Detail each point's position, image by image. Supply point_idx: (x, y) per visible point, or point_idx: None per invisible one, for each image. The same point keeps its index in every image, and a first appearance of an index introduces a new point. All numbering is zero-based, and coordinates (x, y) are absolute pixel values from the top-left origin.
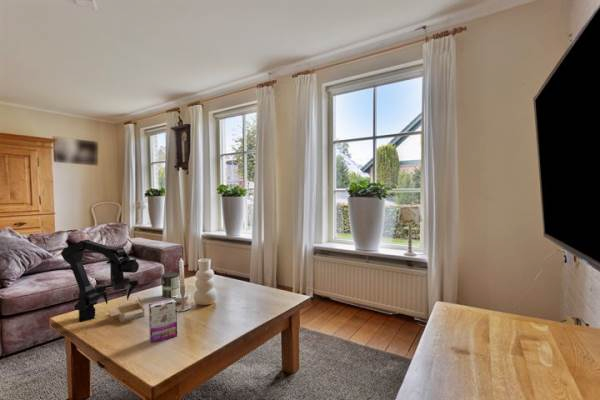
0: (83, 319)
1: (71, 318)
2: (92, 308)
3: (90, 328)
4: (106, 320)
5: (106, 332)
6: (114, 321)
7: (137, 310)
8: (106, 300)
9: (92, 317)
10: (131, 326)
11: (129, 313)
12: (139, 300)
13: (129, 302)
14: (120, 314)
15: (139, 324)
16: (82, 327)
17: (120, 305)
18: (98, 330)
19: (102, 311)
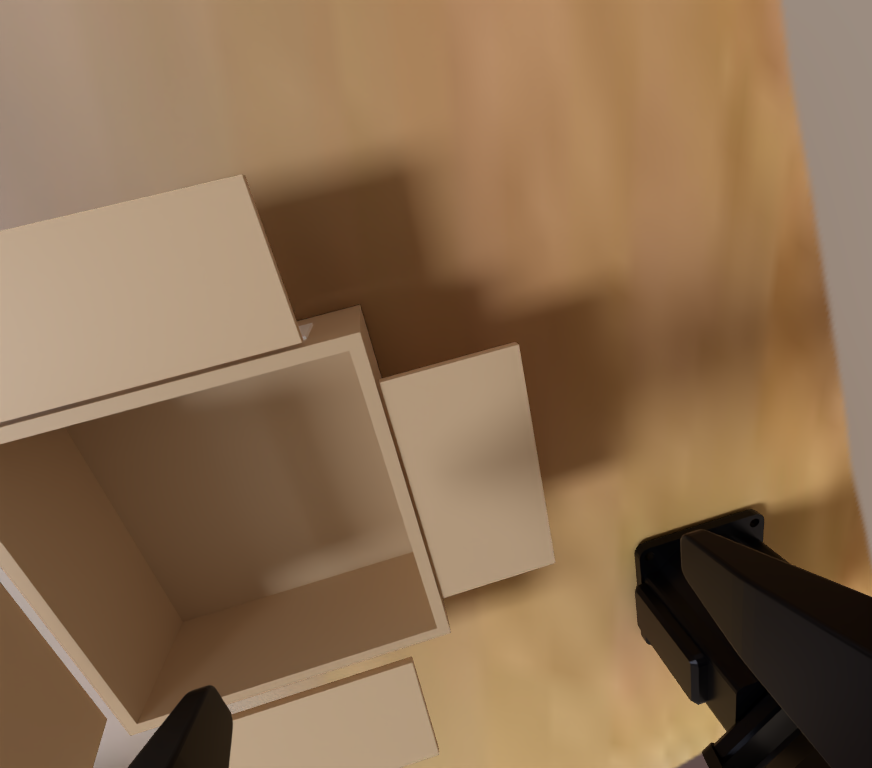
0: (732, 537)
1: None
2: (730, 657)
3: (684, 289)
4: None
5: (519, 9)
6: None
7: (50, 396)
8: (811, 593)
9: (657, 562)
10: (164, 44)
11: (188, 294)
12: (36, 733)
13: (276, 740)
14: (362, 338)
15: (30, 61)
16: (746, 361)
17: (400, 673)
18: (611, 165)
19: (565, 686)
